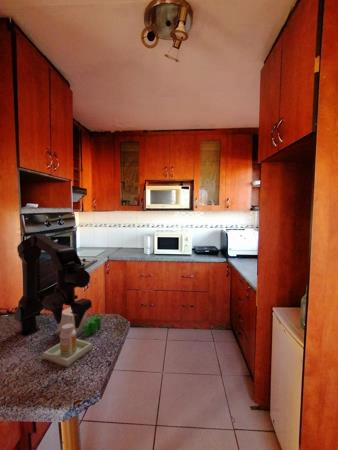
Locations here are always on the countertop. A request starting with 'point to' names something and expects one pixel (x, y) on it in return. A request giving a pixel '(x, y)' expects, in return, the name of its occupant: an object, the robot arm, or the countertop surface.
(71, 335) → the supplement bottle
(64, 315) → the plain beige box
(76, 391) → the countertop surface
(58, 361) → the tray
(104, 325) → the countertop surface
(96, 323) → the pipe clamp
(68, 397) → the countertop surface
